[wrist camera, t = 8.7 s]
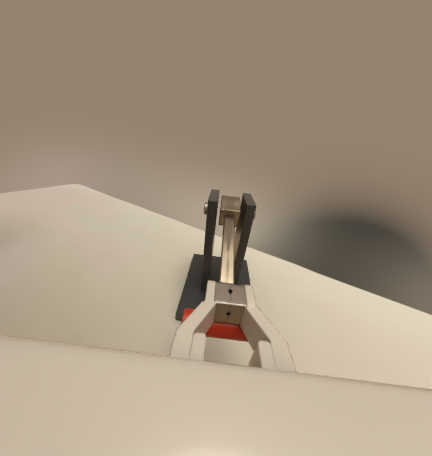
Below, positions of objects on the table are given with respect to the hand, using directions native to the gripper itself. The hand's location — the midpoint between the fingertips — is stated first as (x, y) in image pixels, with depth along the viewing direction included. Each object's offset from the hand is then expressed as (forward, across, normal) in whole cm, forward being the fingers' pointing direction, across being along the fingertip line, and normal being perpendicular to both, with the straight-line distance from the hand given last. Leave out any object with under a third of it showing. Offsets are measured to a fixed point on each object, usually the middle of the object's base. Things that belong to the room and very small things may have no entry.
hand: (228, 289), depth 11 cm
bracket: (+10, 0, +11) cm, 15 cm away
